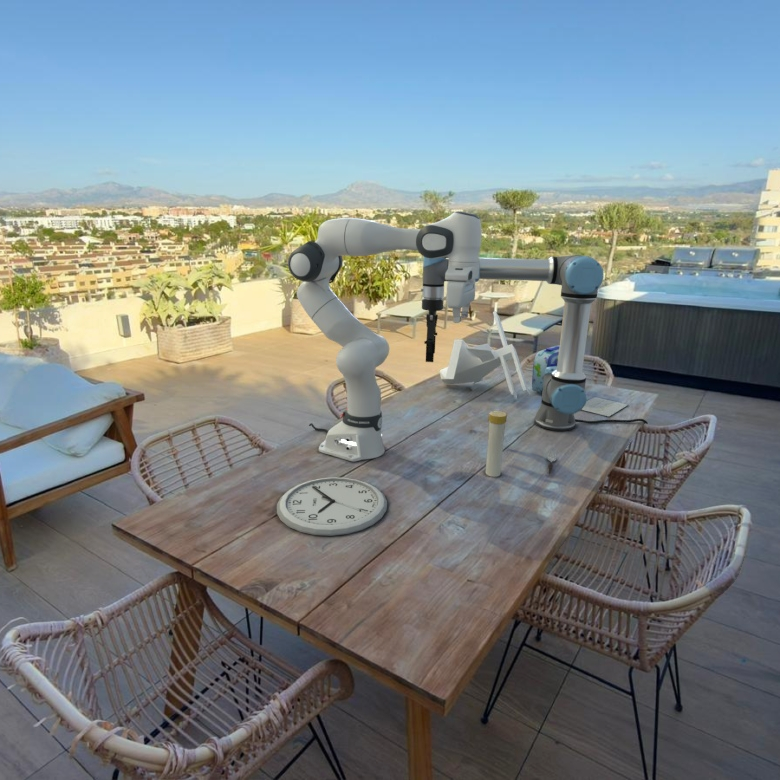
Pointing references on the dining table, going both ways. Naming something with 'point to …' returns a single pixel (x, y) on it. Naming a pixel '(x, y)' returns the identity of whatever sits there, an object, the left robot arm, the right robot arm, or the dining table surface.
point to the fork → (551, 460)
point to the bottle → (494, 449)
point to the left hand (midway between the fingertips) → (460, 320)
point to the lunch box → (543, 366)
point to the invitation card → (603, 406)
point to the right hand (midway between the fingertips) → (430, 357)
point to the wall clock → (331, 506)
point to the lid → (497, 417)
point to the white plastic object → (482, 362)
